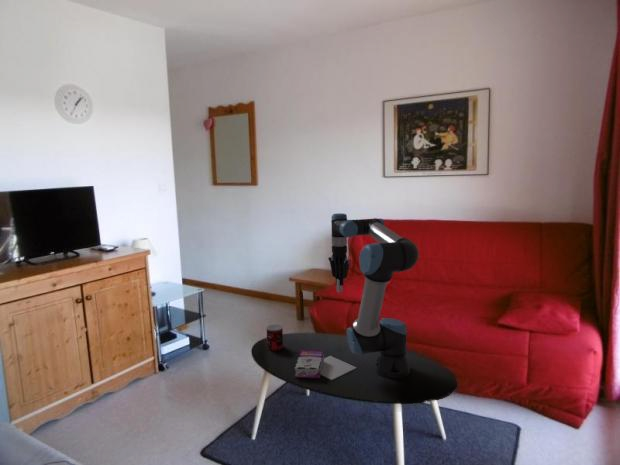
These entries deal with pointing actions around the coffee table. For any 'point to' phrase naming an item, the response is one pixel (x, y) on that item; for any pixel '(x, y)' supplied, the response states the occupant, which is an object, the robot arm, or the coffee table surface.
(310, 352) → the candy bar box
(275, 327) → the canned food
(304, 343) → the coffee table surface
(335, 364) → the mat
